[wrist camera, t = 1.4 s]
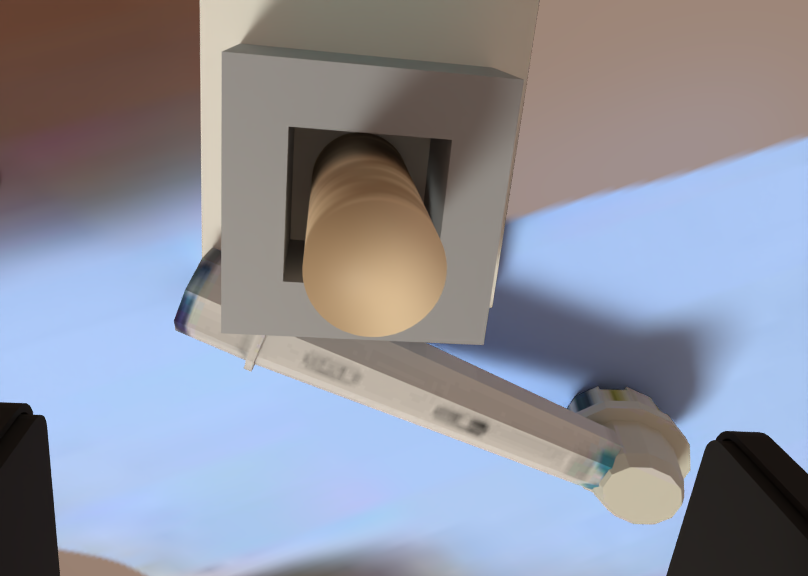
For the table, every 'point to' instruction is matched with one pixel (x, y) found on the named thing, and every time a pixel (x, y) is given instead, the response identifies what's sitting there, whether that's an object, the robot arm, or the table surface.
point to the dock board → (354, 33)
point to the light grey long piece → (474, 406)
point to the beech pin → (369, 240)
